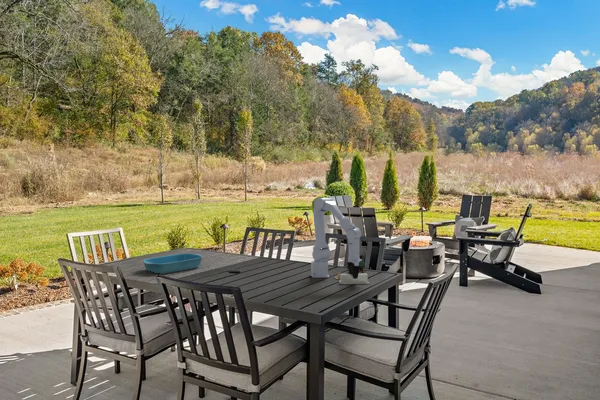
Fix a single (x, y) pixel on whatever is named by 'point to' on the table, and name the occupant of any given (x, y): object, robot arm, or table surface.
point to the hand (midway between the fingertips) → (353, 276)
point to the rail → (350, 279)
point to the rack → (339, 275)
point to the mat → (353, 282)
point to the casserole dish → (172, 263)
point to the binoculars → (360, 264)
